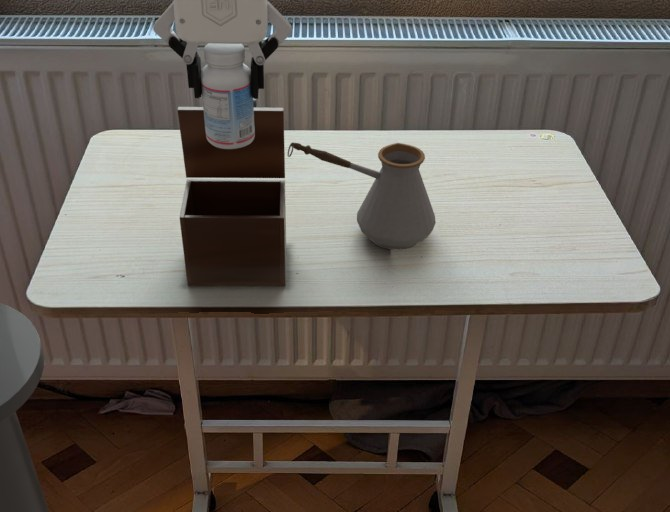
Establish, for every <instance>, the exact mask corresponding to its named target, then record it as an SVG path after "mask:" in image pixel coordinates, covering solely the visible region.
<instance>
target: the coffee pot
mask: <svg viewBox="0 0 670 512" xmlns="http://www.w3.org/2000/svg"><path fill="white" fill-rule="evenodd" d="M294 149H295V150H296V151H301V152H303V153H304V154H305V155H306V156H308V155H311V156H313V157H315V158H316V159H319V160H320V161H322V162H326V163H329V164H333V165H336V166H340V167H343V168H346V169H349V170H350V169H351V170H353V171H356V172H358V173H361V174H363V175H366V176H368V177H371V178H374V181H373V183H372V184H371V187H370V188H369V190H368V192H367V194H366V195H365V198H364V199H363V201H362V203H361V205H360V207H359V209H358V210H357V213H356V222H357V225H358V227H359V229H360V232H361V233H363V234H364V236H365V237H366V238H368V239H369V240H370V241H371V242H372V243H373V244H375V245H377V246H378V247H381V248H384V249H388V250H399V251H400V250H406V249H410V248H413V247H414V246H416V245H418V244H420V243H421V242H423V241H424V240H426V239H427V238H428V237H429V236H430V235H431V233H432V232H433V231H434V228H435V226H436V222H437V221H436V214H435V211H434V209H433V206H432V203H431V201H430V198H429V194H428V191H427V189H426V185H425V182H424V180H423V177H422V174H421V172H420V167H421V165H422V164H423V163H424V161H425V159H426V155H425V153H424V152H423V150H422V149H420V148H418V147H416V146H414V145H411V144H407V143H401V142H395V143H390V144H388V145H385V146H383V147H382V148H380V149H379V151H378V153H377V158H378V160H379V161H380V163H381V168H380V170H379V171H378V170H375V169H371V168H368V167H365V166H362V165H359V164H356V163H353V162H351V161H350V160H347V159H345V158H343V157H340V156H339V155H338V156H337V155H335V154H333V153H332V152H331V153H330V152H328V151H326V150H321V149H317V148H316V149H315V148H312V147H311V146H310V145H303V144H301V143H300V142H290V144H289V146H288V149H287V157H288V158H291V157H292V155H293V152H294Z"/></svg>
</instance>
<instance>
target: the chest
mask: <svg viewBox="0 0 670 512" xmlns="http://www.w3.org/2000/svg"><path fill="white" fill-rule="evenodd" d="M182 197H183V198H182V203H181V208H180V213H179V224H180V225H179V226H180V234H181V243H182V250H183V258H184V267H185V275H186V284H187V286H188V287H286V284H287V282H286V281H287V279H286V278H287V211H286V209H287V208H286V207H287V206H286V180H285V179H220V178H209V179H208V178H187V179H186V181H185V187H184V192H183V196H182Z"/></svg>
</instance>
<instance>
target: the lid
mask: <svg viewBox="0 0 670 512" xmlns="http://www.w3.org/2000/svg"><path fill="white" fill-rule="evenodd" d="M257 100H258V99H254V98H253V107H254V126H255V137H254V140H253V141H252V142H251V143H250V144H249V145H247V146H245V147H242V148H237V149H222V148H218V147H215V146H213V145H212V144H211V143H210V142H209V141H208V140H207V138H206V131H205V120H204V110H203V106H177V117H178V125H179V132H180V141H181V149H182V156H183V162H184V163H183V164H184V171H185V178H187V179H208V178H209V179H286V161H285V160H286V158H285V151H286V150H285V109H284V107H258V105H257V104H258V101H257Z"/></svg>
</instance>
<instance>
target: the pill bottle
mask: <svg viewBox="0 0 670 512" xmlns="http://www.w3.org/2000/svg"><path fill="white" fill-rule="evenodd" d="M203 54H204V57H203V58H204V61H205V65H204V66H203V68H201V75H200V79H201V90H202V95H201V98H202V99H201V100H202V107H203V110H204V120H205V131H206V138H207V140H208V141H209V142H210V143H211V144H212V145H213V146H215V147H218V148H222V149H237V148H242V147H245V146H247V145H249V144H250V143H251V142H252V141H253V140H254V137H255V126H254V107H253V98H252V86H251V68H250V67H249V66H248V65H246V64H245V63H244V62H245V59H246V54H245V46H244V44H213V43H206V44H205V46H204V47H203Z"/></svg>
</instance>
